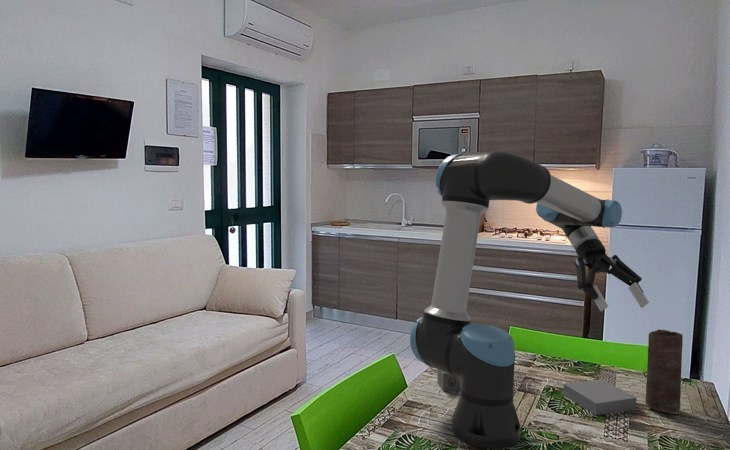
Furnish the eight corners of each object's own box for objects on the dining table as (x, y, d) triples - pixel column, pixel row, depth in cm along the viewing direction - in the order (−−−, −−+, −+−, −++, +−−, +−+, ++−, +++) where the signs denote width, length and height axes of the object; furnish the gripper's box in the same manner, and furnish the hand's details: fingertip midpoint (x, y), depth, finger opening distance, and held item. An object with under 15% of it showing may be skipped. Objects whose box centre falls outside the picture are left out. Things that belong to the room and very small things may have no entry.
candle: (662, 418, 116) (666, 337, 115) (637, 405, 123) (641, 328, 122) (687, 414, 118) (691, 334, 117) (661, 401, 125) (665, 326, 124)
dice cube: (460, 390, 132) (460, 372, 132) (443, 391, 132) (443, 373, 131) (454, 382, 137) (454, 365, 137) (437, 384, 137) (437, 366, 136)
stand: (595, 415, 118) (596, 403, 118) (563, 394, 129) (563, 384, 129) (635, 409, 121) (636, 397, 121) (600, 389, 133) (601, 379, 132)
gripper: (614, 251, 151) (652, 310, 137) (545, 254, 144) (579, 317, 131) (628, 235, 145) (670, 296, 132) (557, 238, 138) (594, 303, 125)
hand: (625, 307), depth 131 cm, fingers open, 13 cm apart
